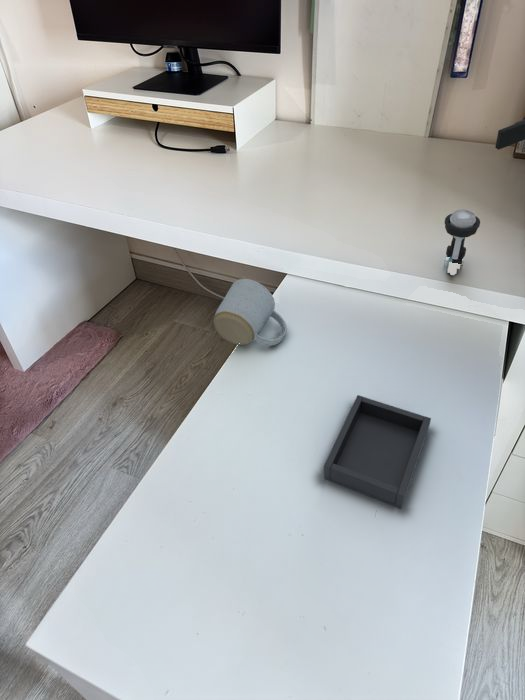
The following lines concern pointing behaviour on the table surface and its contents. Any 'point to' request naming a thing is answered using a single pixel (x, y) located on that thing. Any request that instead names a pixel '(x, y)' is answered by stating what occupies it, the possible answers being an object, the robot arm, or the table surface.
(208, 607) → the table surface
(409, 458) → the tray
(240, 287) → the ceramic mug
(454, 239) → the push button
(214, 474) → the table surface
